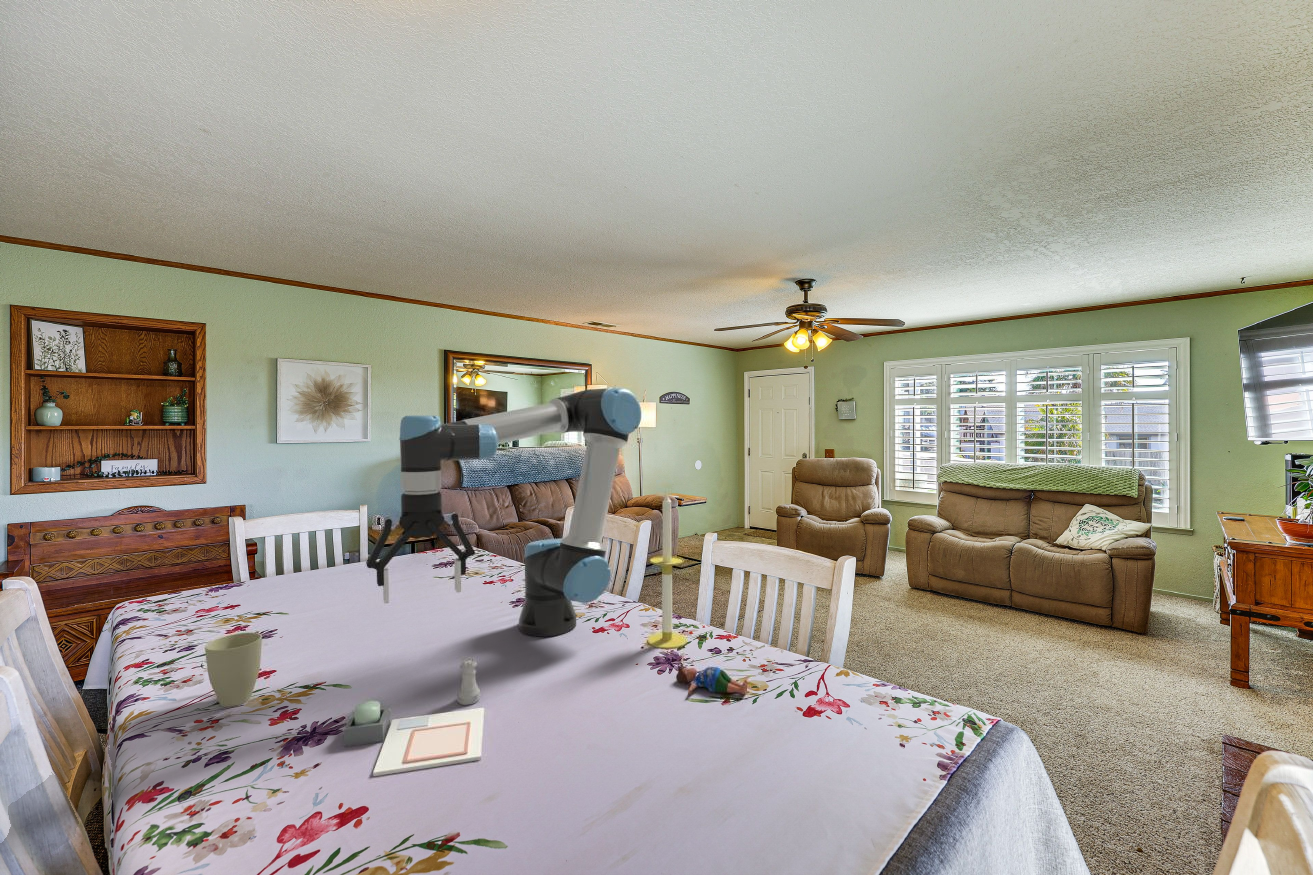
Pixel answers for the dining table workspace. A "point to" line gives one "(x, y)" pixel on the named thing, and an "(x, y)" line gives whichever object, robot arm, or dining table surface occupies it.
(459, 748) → the cream square board
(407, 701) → the dining table surface
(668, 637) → the paper towel holder
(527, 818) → the dining table surface
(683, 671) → the toy character
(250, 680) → the mug
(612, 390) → the robot arm
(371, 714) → the button
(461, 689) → the rook chess piece
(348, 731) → the button housing
